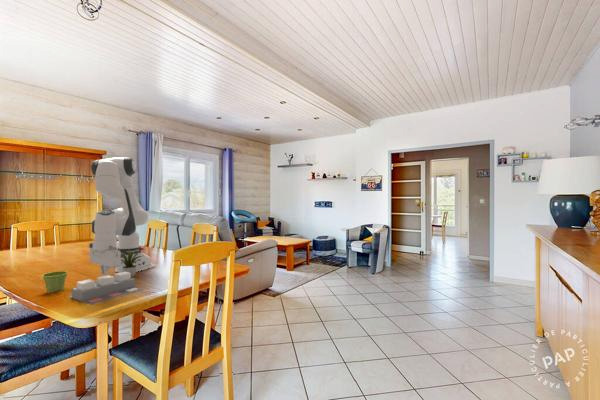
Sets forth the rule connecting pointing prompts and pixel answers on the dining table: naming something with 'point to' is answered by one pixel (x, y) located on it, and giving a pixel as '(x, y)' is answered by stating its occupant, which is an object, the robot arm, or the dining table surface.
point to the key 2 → (122, 276)
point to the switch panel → (105, 292)
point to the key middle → (105, 280)
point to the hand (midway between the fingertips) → (104, 274)
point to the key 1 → (85, 285)
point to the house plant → (130, 262)
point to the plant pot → (55, 281)
